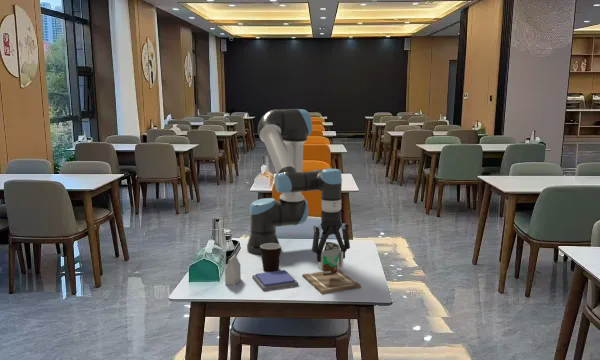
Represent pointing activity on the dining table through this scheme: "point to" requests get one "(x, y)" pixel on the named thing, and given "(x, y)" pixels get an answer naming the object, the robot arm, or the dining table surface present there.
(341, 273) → the marked board
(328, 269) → the food container
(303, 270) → the dining table surface
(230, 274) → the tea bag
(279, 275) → the ink pad
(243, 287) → the dining table surface
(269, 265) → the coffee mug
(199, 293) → the dining table surface
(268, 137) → the robot arm
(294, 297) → the dining table surface
